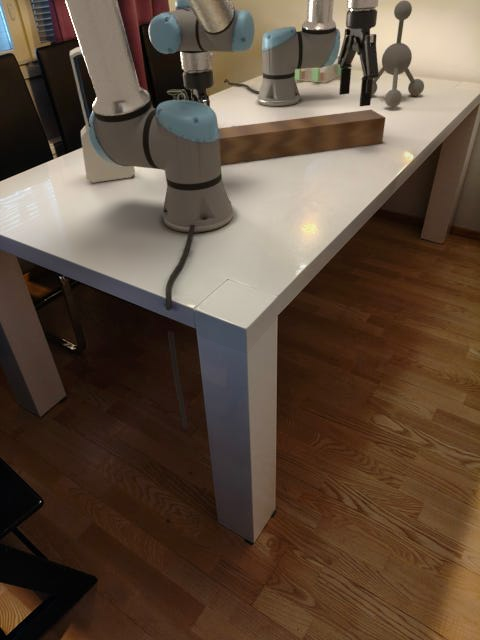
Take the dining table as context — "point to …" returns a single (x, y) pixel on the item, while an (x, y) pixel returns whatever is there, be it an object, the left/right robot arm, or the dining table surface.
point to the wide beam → (300, 136)
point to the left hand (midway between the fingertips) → (205, 159)
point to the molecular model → (398, 61)
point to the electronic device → (93, 162)
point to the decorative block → (319, 73)
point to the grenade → (178, 94)
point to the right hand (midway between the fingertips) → (354, 99)
